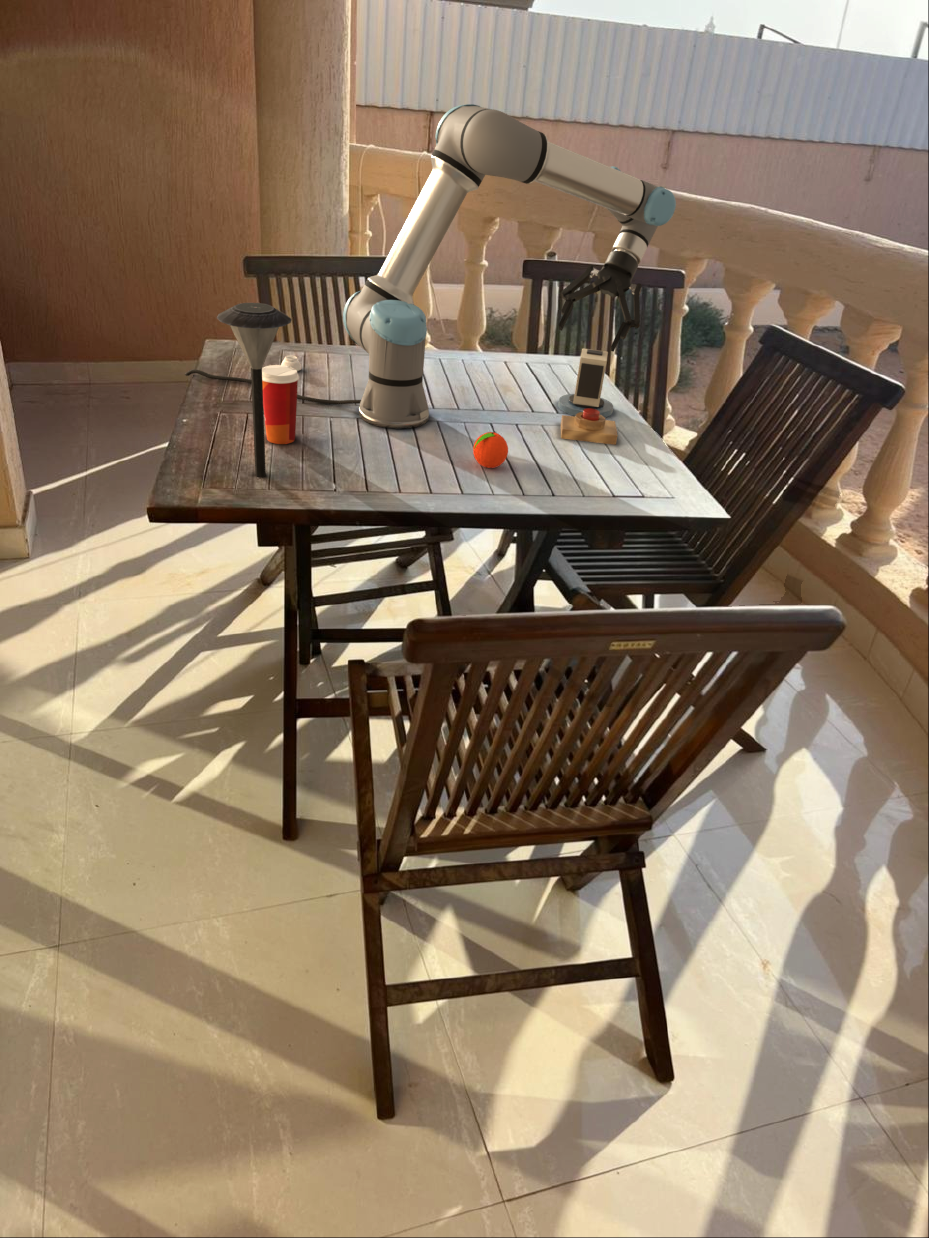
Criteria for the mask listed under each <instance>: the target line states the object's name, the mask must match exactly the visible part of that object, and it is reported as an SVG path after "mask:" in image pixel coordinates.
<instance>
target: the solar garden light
mask: <svg viewBox="0 0 929 1238" xmlns="http://www.w3.org/2000/svg"><path fill="white" fill-rule="evenodd" d="M216 319H217V320H218V321H219V323H222V324H225V325H227V326H229V327H230V329H231V331H232V333H233V334H234V335H233V336H234V337H235V339H236V341H237V344H238V345H239V347H240V349H241V351H242V353H243V355H244V357H245V359H246V361H247V363H248V365H249V367H250V376H251V377H250V379H251V382H252V384H251V401H252V402H251V403H252V424H253V425H252V426H253V449H254V474H255V475H254V476H256V477H258V478H263V477H266V475H267V474H266V473H267V470H266V468H267V467H266V446H265V445H266V444H265V417H264V407H263V382H262V368H263V366H264V365H265V364H264V363H265V362H266V359H267V357H268V354H269V352H270V350H271V347H272V346H273V343H274V340H275V338H276V336H277V333H278V331H279V329H280V327H285V326H288V325H289V324H291V323H292V320H293V319H292V318H291V316H289V315H287V314H286V313H284V312H282V311H281V310H279V309H278V308H276V307H274V306H272V305H270V304H267V303H261V302H241V303H237V304H235V305H233V306H231V307H230V308H229V307H228V309H225V310H224V311H222V312H219V313H218V314H217V316H216Z"/></svg>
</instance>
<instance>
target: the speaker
mask: <svg viewBox="0 0 929 1238" xmlns="http://www.w3.org/2000/svg"><path fill="white" fill-rule="evenodd" d="M608 354H609V352H608V351H605V350H598V349H592V348H591V349H590V348H585V347H583V348H582V349H581V353H580V359H579V364H578V371H577V376H576V383H575V390H574V394H575V395H571V396H570V397H569V401H570V402H571V403H573V404H575V405H578V406H582V407H588V408H597V407H602V406H603V405H604V401H603V400H602V399H601V398H602V397H601V396H602V390H603V385H604V379H605V373H606V368H607V362H608Z"/></svg>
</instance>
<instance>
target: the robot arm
mask: <svg viewBox="0 0 929 1238" xmlns="http://www.w3.org/2000/svg"><path fill="white" fill-rule="evenodd" d="M430 162H431V167H432V169H431V172H430V174H429V176H428V178H427V179H426V181H425V183H424V185H423V187H422V189H421V191H420V193H419V194H418V197H417V199H416V200H415V202H414V204H413V206H412V208H411V210H410V212H409V214H408V216H407V218H406V220H405V222H404V224H403V226H402V228H401V230H400V232H399V233H398V235H397V237H396V238H395V239H396V240H395V241H394V243H393V245H392V247H391V249H390V251H389V253H388V254H387V256H386V258H385V260H384V262H383V264H382V266H381V268H380V270H379V272H378V273H377V274H375V275H372V276H369V277H367V279H366V281H365V283H364V284H363V287H362V289H361V290H358V291H355V292H354V293H353V294H351V296H349V298H348V299H347V301H346V302H345V305H344V308H343V312H342V321H343V326H344V328H345V329H344V330H345V331H346V333H347V334H348V336H349V338H350V339H351V340H352V341H353V342H354V344H355V345H357V346H358V347H360V348H362V350H364V351H365V352H366V353H367V354H368V380H367V383H366V385H365V389H364V391H363V394H362V397H361V399H344V400H339V399H323V398H315V397H311V396H310V397H309V396H305V395H301V394H297V400H301V401H306V402H311V403H317V404H326V405H359V407H358V415H359V417H360V419H361V420H363V421H364V422H366V423H368V424H371V425H372V426H373V425H374V426H376V427H380V428H387V429H396V430H397V429H398V430H399V429H413V428H417V427H421V426H423V425H424V424H426V423H427V422H429V417H430V409H429V404H428V400H427V397H426V393H425V389H424V384H423V383H424V382H423V381H424V366H425V355H426V352H425V351H426V340H427V334H428V333H427V332H428V328H427V317H426V316H427V315H426V314H425V312H424V311H423V310H422V309H421V308H420V307H419V306H418V305H415V303H414V298H413V296H414V293H415V292H416V289H417V288H418V286H419V284H420V282H421V280H422V278H423V276H424V274H425V273H426V271H427V270H428V268H429V266H430V263H431V262H432V260H433V258H434V256H435V254H436V253H437V250H438V249H439V247H440V245H441V243H442V241H443V239H444V237H445V235H446V234H447V232H448V230H449V228H450V226H451V224H452V222H453V220H454V219H455V217H456V215H457V213H458V211H459V210H460V208H461V206H462V204H463V202H464V201H465V199H466V196H467V195H468V194H469V193H470V192H473V191H476V190H478V189H479V187H480V186H481V184H482V182H483V181H484V178H485V177H486V176H491V177H498V178H503V179H508V180H513V181H517V182H520V183H522V184H524V185H525V184H526V185H530V184H532V183H534V182H535V183H538V184H541V185H544V186H546V187H549V188H551V189H554V190H557V191H560V192H562V193H565V194H567V195H570V196H573V197H576V198H578V199H581V200H584V201H586V202H588V203H593V204H595V205H597V206H600V207H603V208H605V209H606V210H607V211H608V212H609V213H610V214H611V215H612V216H613V217H614V218H615V219H616V221H618V222H619V224H620V225H621V229H620V231H619V233H618V235H617V237H616V239H615V241H614V243H613V245H612V247H611V249H610V250H611V251H610V252H609V254H608V255H607V257H606V259H605V261H604V264H603V266H602V267H601V269H600V270H599V269H597V268H595V267H594V264H589V265H588V266H587V267H586V270H585V271H584V272H582V274H580V275H579V276H577V278H575V279H574V280H573V281H572V282H571V283H569V284H568V285H567V286H566V287H564V288H563V289H562V290H561V292H560V294H561V299H563V300H564V303H563V305H562V307H561V310H560V314H561V315H562V317H561V318H560V320H559V323H558V330H559V331H561V332H562V331H563V330H564V327H565V325H566V323H567V322H568V319H569V317H570V315H571V313H572V311H573V309H574V306H575V305H574V303H576V302H578V301H580V300H582V299H584V298H586V297H588V296H590V295H592V294H594V293H595V294H596V293H598V292H601V293H602V294H603V295H608V296H610V297H611V298H617V299H618V303H619V305H620V309H621V313H622V316H623V319H624V321H622V322H621V324H620V326H619V328H618V331H617V333H616V335H615V336H614V339H613V341H612V343H611V345H610V351H611V352H615V350H616V348H617V346H618V344H619V342H620V339H621V340H623V341H624V340H625V339H626V338H627V335H628V333H629V331H630V329H631V328H635V329H639V328H640V325H641V310H640V308H641V307H640V296H641V293H642V287H643V286H642V284H641V283H640V282H639V283H637V284H636V283H632V281H633V278H634V276H635V274H636V272H637V270H638V268H639V265H640V263H641V262H642V260H643V257H644V256H645V253H646V252H647V249H648V247H649V245H650V244H651V241H652V239H653V237H654V235H655V233H656V231H657V229H658V227H661V226H664V225H666V224H667V223H668V222H669V221H670V220H671V219H672V218H673V216H674V214H675V211H676V207H677V201H676V197H675V194H674V192H672V191H671V190H670V189H667V188H665V187H663V186H661V185H659V186H658V185H655V184H652V183H650V182H648V181H645V180H643V179H640V178H638V177H636V176H633V175H630V174H628V173H626V172H624V171H622V170H621V169H620V168H618V167H617V166H614V165H612V166H609V165H607V164H605V163H602V162H599V161H597V160H594V159H592V158H589V157H587V156H586V155H582V154H580V153H578V152H575V151H573V150H570V149H568V148H565V147H563V146H560V145H558V144H555V143H553V142H551V141H549V139H548V136H547V135H546V134H545V133H543V132H542V131H539V130H538V129H535V128H532V127H530V126H529V125H527V124H525V123H524V122H521V121H520V120H518V119H516V118H514V117H513V116H511V115H509V114H507V113H505V112H503V111H502V110H498V109H493V108H487V107H484V106H483V107H482V106H480V105H478V104H474V103H466V104H459V105H456V106H454V107H452V108H450V109H449V110H447V111H446V112H445V113H444V114H443V116H442V117H441V118H440V120H439V121H438V124H437V126H436V131H435V147H434V150H433V152H432V153H431V155H430ZM594 277H597V279H596V280H594V281H593V282H592V283H590V284H588V285H586V286H584V287H582V286H583V285H584V284H586V283H587V282H588V281H589V280H590V279H593V278H594ZM580 287H582V288H580ZM579 288H580V289H579ZM629 290H631V294H632V295H633V319H632V316H631V313H630V310H629V307H628V303H627V300H626V294H625V293H626V292H628V291H629ZM192 374H198V375H200V376H202V377H205V378H208V379H210V380H216V381H217V380H218V381H226V382H239V383H246V384H251V385H252V382H251V378H244V377H235V376H225V375H216V374H211V373H207V372H205V371H203V370H200V369H196V368H195V369H189V370H187V371H186V372H185V373H184V376H186V377H189V376H191V375H192Z"/></svg>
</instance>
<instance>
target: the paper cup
mask: <svg viewBox="0 0 929 1238" xmlns="http://www.w3.org/2000/svg"><path fill="white" fill-rule="evenodd" d="M299 380H300V375H299V373H298V371H297V370H295V369H294V368H291V367H289V366H285V365H281V364H271V365H266V366H264V367H262V382H263V411H264V428H265V435H266V440H267V441H268V442H269V443H272V444H276V445H287V444H291V443H293V442H295V441H296V431H297V428H296V427H297V407H298V399H297V395H298V385H299V383H298V382H299Z"/></svg>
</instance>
